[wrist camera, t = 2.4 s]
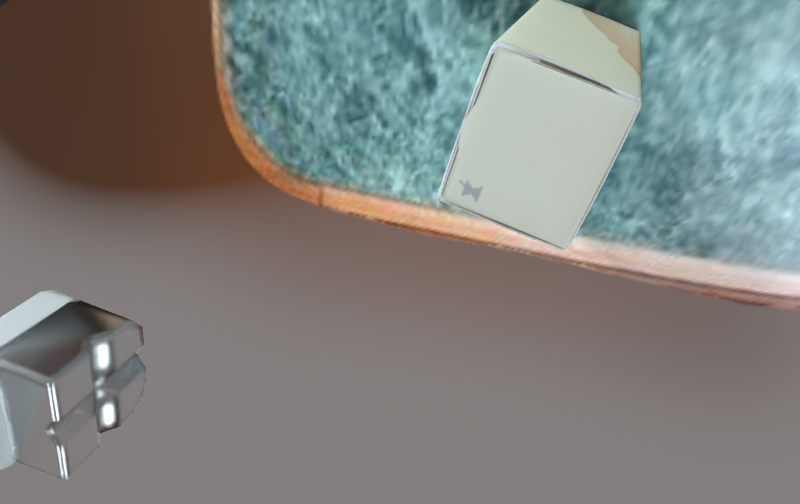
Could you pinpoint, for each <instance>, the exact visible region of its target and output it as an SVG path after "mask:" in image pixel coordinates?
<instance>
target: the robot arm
mask: <svg viewBox="0 0 800 504" xmlns="http://www.w3.org/2000/svg"><path fill="white" fill-rule="evenodd" d="M143 345H144V338H143V327H142V326H141V325H139V324H138V323H136V322H134V321H132V320H129V319H127V318H124V317H122V316H119V315H117V314H114V313H111V312H109V311H107V310H104V309H101V308H99V307H96V306H94V305H91V304H89V303H86V302H84V301H81V300H77V299H74V298H72V297H69V296H67V295H64V294H61V293H59V292H56V291H54V290H50V291H43V292H40V293H38V294H36V295H35V296H33V297H32V298H30V299H29V300H27V301H25V302H24V303H22V304H21V305H19V306H18V307H16V308H15V309H13V310H11V311H10V312H8V313H7V314H5V315H4V316H2V317H1V318H0V470H1V469H3V468H6V467H8V466H10V465H12V464H13V463H14V462H13V460H14V461H17V462H19V463H22V464H24V465H27V466H30V467H33V468H35V469H37V470H40V471H42V472H45V473H48V474H50V475H53V476H56V477H58V478H60V479H63V480H66V479H67V478H68V477H69V476H70V475H71V474H72V473H73V472H74V471H75V470H76V469H78V467H80V466H81V465H82V464H83V463H84V462H85V461H86V460H87V459H88V458H89V457H90V456H91V455H92V454H93V452H95V451H96V450H97V449H98V448H99V439H100V433H102V432H105V431H108V430H111V429H114V428H117V427H119V426H121V424H123V422H124V421H125V420H126V419H127V418H128V417H129V416H130V415H131V414H132V413H133V412H134V409H135V408H136V406H137V404H138V403H139V401H140V399H141V397H142V395H143V392H144V387H145V382H146V368H145V366H144V364H143V363H142V361H141V360H140V358H139V356H138V355H137V353H136V352H137V351H138V350H139V349H140V348H141V347H142V346H143Z"/></svg>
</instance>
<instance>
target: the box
mask: <svg viewBox="0 0 800 504" xmlns="http://www.w3.org/2000/svg"><path fill="white" fill-rule="evenodd" d="M641 106H642V72H641V34H640V32H639V31H637V30H635V29H632V28H630V27H628V26H625V25H623V24H621V23H618V22H616V21H614V20H611V19H609V18H606V17H604V16H601V15H599V14H596V13H594V12H591V11H588V10H586V9H583V8H581V7H578V6H575V5H572V4H570V3H567V2H564V1H561V0H539V1H538V2H537V3H536V4H535V5H534V6H533V7H532V8H531V9H529V10H528V11H527V12H526V13H525V14H524V15H523V16H522V17H521V18H520V19H519V20H518V21H517V22H516V23H515V24H514V25H513V26H511V27H510V28H509V29H508V30H507V31H506V32H505V33H504V34H503V35H502V36H501V37H500V38H499V39H498V40H496V41H495V42H494V43H493V45H492V46H491V48H490V50H489V52H488V55H487V58H486V60H485V63H484V65H483V68H482V70H481V73H480V76H479V78H478V81H477V83H476V86H475V89H474V92H473V94H472V97H471V100H470V103H469V106H468V108H467V111H466V114H465V117H464V119H463V122H462V125H461V128H460V131H459V133H458V136H457V139H456V142H455V145H454V148H453V151H452V154H451V157H450V160H449V163H448V166H447V169H446V172H445V174H444V177H443V180H442V183H441V186H440V189H439V192H438V198H439V200H441V201H443V202H446V203H448V204H450V205H452V206H455V207H457V208H460V209H462V210H464V211H466V212H468V213H471V214H473V215H475V216H478V217H480V218H483V219H485V220H488V221H490V222H492V223H495V224H497V225H500V226H502V227H504V228H507V229H509V230H512V231H515V232H517V233H519V234H522V235H524V236H527V237H529V238H532V239H535V240H538V241H540V242H543V243H545V244H548V245H551V246H553V247H555V248H558V249H561V250H565V249H567V248H568V247H569V246H570V244H571V242H572V241H573V239H574V237H575V235H576V234H577V232H578V230H579V228H580V227H581V225H582V223H583V221H584V219H585V217H586V216H587V214H588V212H589V210H590V209H591V207H592V205H593V203H594V201H595V199H596V197H597V195H598V193H599V191H600V189H601V187H602V186H603V184H604V182H605V180H606V178H607V176H608V174H609V172H610V170H611V168H612V166H613V164H614V162H615V160H616V158H617V156H618V154H619V152H620V150H621V148H622V146H623V144H624V142H625V140H626V137H627V135H628V133H629V131H630V129H631V127H632V125H633V123H634V121H635V118H636V116H637V114H638V113H639V111H640V109H641Z"/></svg>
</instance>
